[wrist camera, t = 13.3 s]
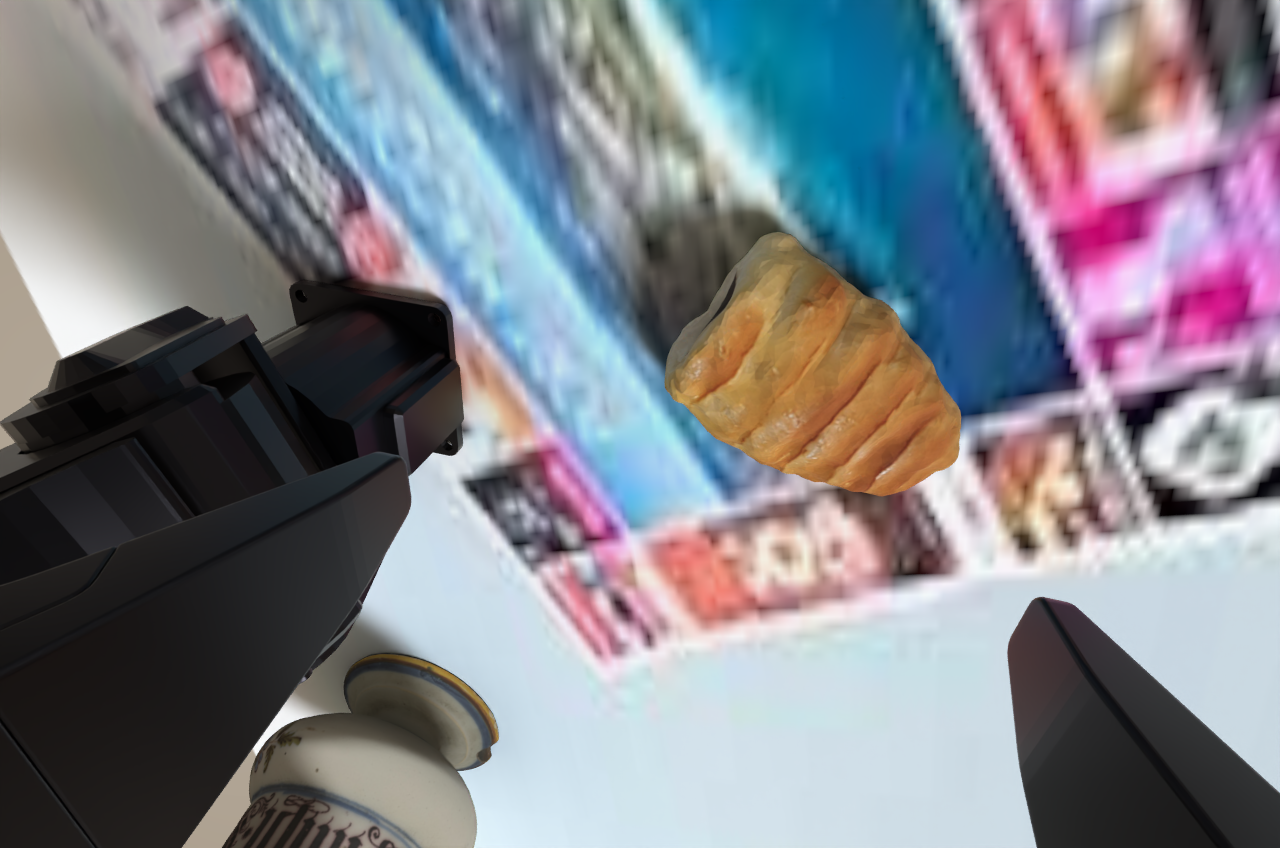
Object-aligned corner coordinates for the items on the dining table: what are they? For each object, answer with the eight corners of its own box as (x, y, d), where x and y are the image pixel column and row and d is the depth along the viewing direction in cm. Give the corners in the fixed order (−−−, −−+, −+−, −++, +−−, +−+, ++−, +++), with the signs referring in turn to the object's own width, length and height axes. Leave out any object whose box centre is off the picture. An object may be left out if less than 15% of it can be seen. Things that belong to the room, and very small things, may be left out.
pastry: (1010, 376, 20) (1045, 439, 17) (863, 506, 24) (869, 578, 20) (765, 207, 19) (753, 239, 16) (653, 368, 23) (625, 421, 20)
